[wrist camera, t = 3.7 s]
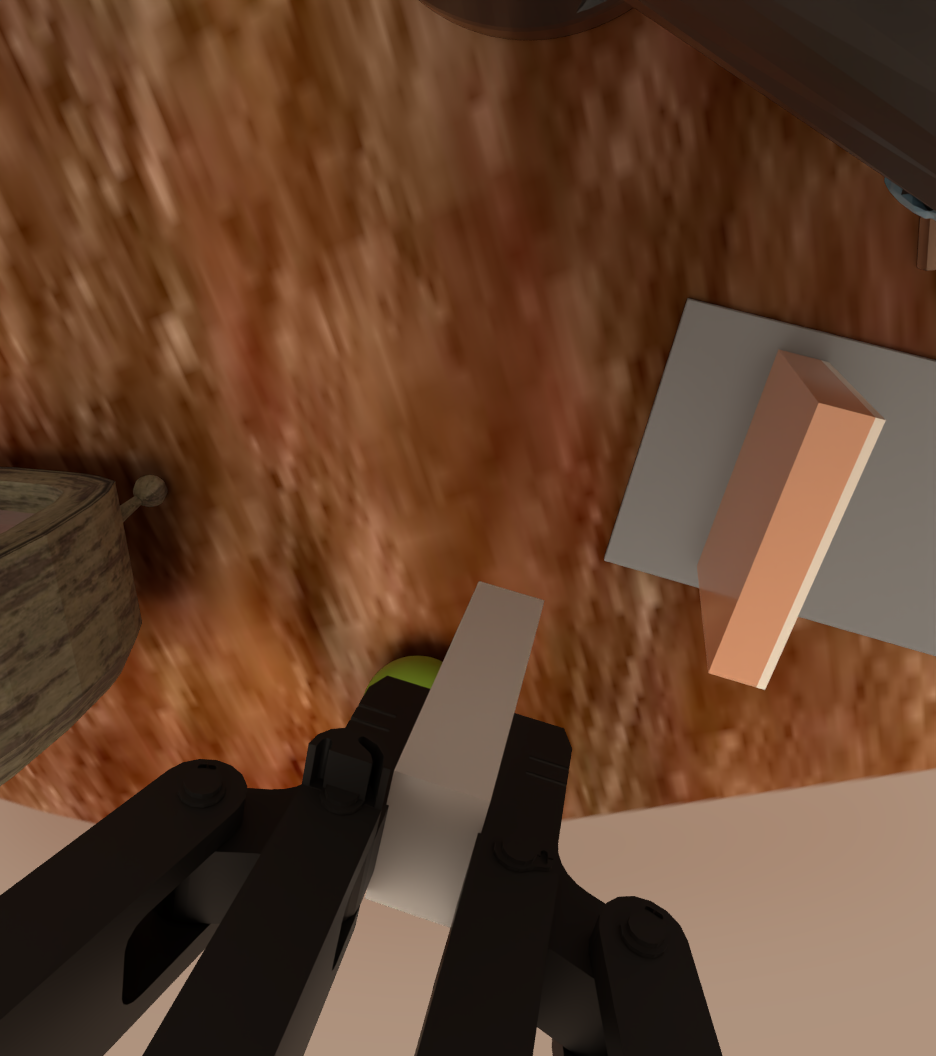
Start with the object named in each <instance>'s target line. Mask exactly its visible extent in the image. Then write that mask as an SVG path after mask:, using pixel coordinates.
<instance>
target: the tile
mask: <svg viewBox="0 0 936 1056" xmlns="http://www.w3.org/2000/svg"><path fill="white" fill-rule="evenodd" d="M885 421H886V420H885V419H884V418H883V417H882V416H881V415H880V414H879V413H878V412H877V411H876V410H875V409H874V408H873V407H872V406H871V405H870V404H869V403H868V402H867V401H866V400H865V399H864V398H863V396H862V395H861V394H860V393H859V392H858V391H857V390H856V389H855V388H854V387H853V386H852V385H851V384H850V383H849V382H848V381H847V380H846V379H845V378H844V377H843V376H842V375H841V374H840V373H839V372H838V371H837V370H836V369H835V368H834V367H833V366H832V365H831V364H830V363H829V362H826V361H822V360H818V359H814V358H811V357H807V356H803V355H799V354H795V353H791V352H787V351H783V350H779V349H778V352H777V355H776V357H775V360H774V363H773V365H772V368H771V371H770V373H769V376H768V379H767V381H766V384H765V387H764V389H763V392H762V395H761V397H760V400H759V403H758V405H757V408H756V411H755V413H754V416H753V418H752V421H751V424H750V426H749V429H748V432H747V434H746V437H745V440H744V442H743V445H742V448H741V450H740V453H739V456H738V458H737V461H736V464H735V466H734V469H733V472H732V474H731V477H730V480H729V482H728V485H727V488H726V490H725V493H724V495H723V498H722V501H721V503H720V506H719V509H718V511H717V514H716V517H715V519H714V522H713V525H712V527H711V530H710V533H709V535H708V538H707V541H706V543H705V546H704V549H703V551H702V554H701V557H700V559H699V562H698V565H697V572H698V581H699V591H700V600H701V610H702V619H703V628H704V638H705V647H706V656H707V666H708V673H710V674H713V675H717V676H720V677H723V678H727V679H730V680H733V681H737V682H740V683H743V684H747V685H750V686H754V687H757V688H760V689H764V690H765V689H766V686H767V684H768V682H769V680H770V677H771V675H772V673H773V671H774V668H775V666H776V664H777V662H778V660H779V657H780V655H781V653H782V651H783V648H784V646H785V644H786V642H787V639H788V637H789V635H790V633H791V631H792V628H793V626H794V624H795V622H796V619H797V617H798V615H799V613H800V610H801V608H802V606H803V604H804V602H805V599H806V597H807V595H808V593H809V590H810V588H811V586H812V584H813V581H814V579H815V577H816V575H817V573H818V570H819V568H820V566H821V564H822V561H823V559H824V557H825V555H826V553H827V550H828V548H829V546H830V544H831V541H832V539H833V537H834V535H835V532H836V530H837V528H838V526H839V524H840V521H841V519H842V517H843V515H844V512H845V510H846V508H847V506H848V503H849V501H850V499H851V497H852V495H853V492H854V490H855V488H856V486H857V483H858V481H859V479H860V477H861V474H862V472H863V470H864V468H865V466H866V463H867V461H868V459H869V457H870V454H871V452H872V450H873V448H874V445H875V443H876V441H877V439H878V437H879V434H880V432H881V430H882V428H883V425H884V423H885Z"/></svg>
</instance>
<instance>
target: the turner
mask: <svg viewBox="0 0 936 1056" xmlns="http://www.w3.org/2000/svg"><path fill="white" fill-rule="evenodd" d="M917 268H919V269H922V270H926V271H929V270H936V221H935V220H933V219H931V218H928V219H925V218H923V217H921V218H920V226H919V242H918V258H917Z"/></svg>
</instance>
